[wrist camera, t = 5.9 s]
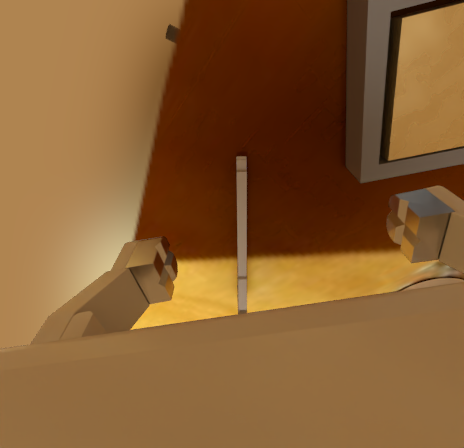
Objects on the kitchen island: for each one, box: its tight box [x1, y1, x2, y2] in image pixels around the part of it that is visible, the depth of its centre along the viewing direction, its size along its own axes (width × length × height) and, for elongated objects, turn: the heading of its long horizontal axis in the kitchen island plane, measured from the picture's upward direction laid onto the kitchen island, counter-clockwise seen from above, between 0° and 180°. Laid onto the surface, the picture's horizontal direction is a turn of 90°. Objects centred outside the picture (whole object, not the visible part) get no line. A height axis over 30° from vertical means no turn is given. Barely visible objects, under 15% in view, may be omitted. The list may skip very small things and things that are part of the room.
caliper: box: [236, 156, 247, 314], centre depth 31 cm, size 20×1×6 cm, turn 1°
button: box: [380, 0, 464, 161], centre depth 22 cm, size 10×10×4 cm
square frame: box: [346, 0, 464, 183], centre depth 22 cm, size 14×14×4 cm
